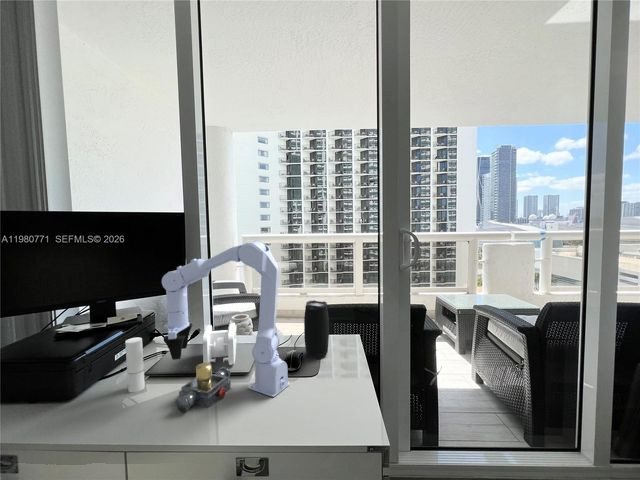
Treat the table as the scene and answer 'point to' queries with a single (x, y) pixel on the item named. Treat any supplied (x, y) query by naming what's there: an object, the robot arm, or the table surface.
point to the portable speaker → (316, 329)
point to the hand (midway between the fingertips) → (179, 353)
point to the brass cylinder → (204, 376)
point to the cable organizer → (219, 344)
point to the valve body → (204, 391)
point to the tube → (135, 364)
